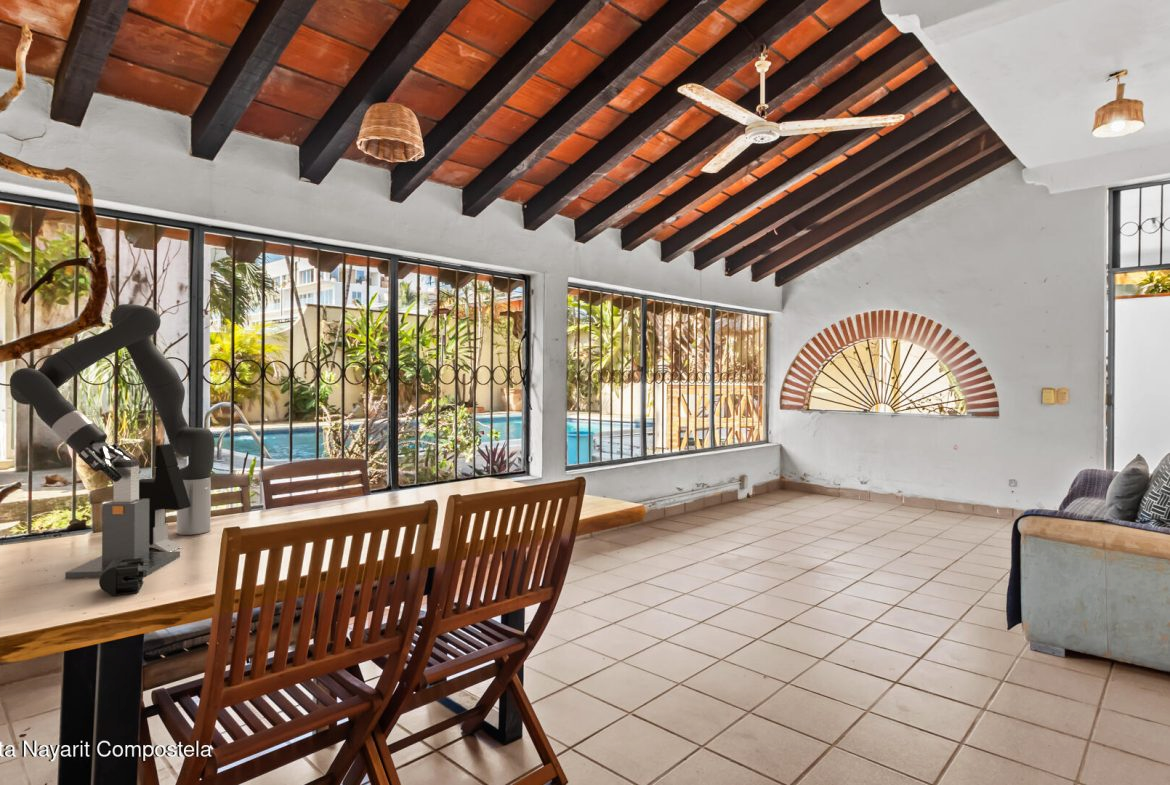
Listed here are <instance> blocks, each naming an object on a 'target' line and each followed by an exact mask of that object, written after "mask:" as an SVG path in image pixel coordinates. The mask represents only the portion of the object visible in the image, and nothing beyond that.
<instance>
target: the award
mask: <svg viewBox="0 0 1170 785" xmlns="http://www.w3.org/2000/svg"><path fill="white" fill-rule="evenodd" d="M154 458H155V460H154V463H155V464H154V467H155V468H154V479H152V478H150V479H149V478H142V479H141V478H140V479H139V499H149V549H150V548H152V549H156V550H159V551H160V552H170V551H172V552H174V551H173V550H175V549H178V548H180V547H182V546H181V545H179V544H177V543H176V542H174V541H172V540H170V538H169V526H168V523H166V522H167V518H166V516H167V513H166V512H167V511H166V510H169V511H170V510H172V511H177V510H181V509H184V508H188V507H190V506H191V504H190V501H189V498H188V495H187V491H186V488H185V485H184V482H183V479H182V475H181V472H180V469H181V468H180V467H179V462H178V460H177V456H176V453H175V452H174V450H173V446H172V445H171V444H170V443H165V444H158V445H155V457H154ZM178 550H179V549H178ZM175 551H176V550H175Z"/></svg>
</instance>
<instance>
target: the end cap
mask: <svg viewBox="0 0 1170 785" xmlns="http://www.w3.org/2000/svg"><path fill="white" fill-rule="evenodd" d="M143 565H144V558H137V559H126V560H124V557H119V558H117V559H115V560H113V561H112V562H111V563H110V564H109V566H108V567H107V568H106V570H105V571H104V572H103V574H102V575H101V577H100V578H99V580H98V582H99V587H100V589H101V590H102V591H103V592H104V593H106V594H108V595H109V596H111V597H121V596H122V597H123V595H124V596H131V595H132V594H133V595H137V593H138V594H139V593H140V591H139V590H141V589H142V587H143V585H144V577H145V576H144V570H143V571H138V568H139V567H140V566H143Z"/></svg>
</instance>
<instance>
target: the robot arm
mask: <svg viewBox="0 0 1170 785" xmlns="http://www.w3.org/2000/svg"><path fill="white" fill-rule="evenodd" d="M110 323H111V325H112V327H110V328H108V329H107V330H105V331H102V332H100V333H97V334H94V335H91V336H89V337H86V338H83V339H81V340H78V341H75V342H74V343H71V344H69V345H67V346H65V347H63V348H61V349H60V350H58V351H56V352H55V353H53V354H51V355H50V356H48V357H47V358H45V360H44V361H43V363H42V365H41V366H40V368H38V369H36V368H31V367H24V368H23V367H22V368H19V369H17V370H15V371H14V372H13V373H12V374H11V375H10V378H9V386H10V387H9V389H10V390H9V391H10V396H11V397H12V399H13V400H14V401H15V402H17V403H18V404H21V405H27V406H28V405H31V406H32V407H33V408H34V410H35V412H36V415H37V416H38V417H39V419H40V420H41V421H42V422H43V423H45V424H46V425H47V426H48V427H49V428H50V429H51V430H52V431H53V433H55V434H56V435H57V437H58V438H60V440H61V441H63V442H64V443H65V444H66V445H67V446H68V447H70V448H71V449H72V450H73V452H75V453H76V454H77V455H78V457H79V458H80V460H82V461H83V462H84V463H85V464H86V465H87V466H88V467H89V468H91V469H92V470H93V471H94V472H96V473H98V472H100V473H104V474H105V475H106V476H107V477H108V478H110V480H112V481H113V483H114V482H118V481H119V480H120V479H121V478H122V477H123V475H122V474H121V473H120V472H119V471H118V470H116V469H115V468H114V467H113V462H114V461H119V460H134V457H133V456H132V455H131V454H130V453H128V452H127V451H126V450H125V449H124V448H123V447H121V446H120V445H119V444H118V443H116V442H114V443H113V444H112V445H110V444H109V443H107V442H106V440H107V438H108V434H107V433H106V432H105V431H103V429H101V428H100V427H99V426H98V425H97V424H96V423H95V422H94V421H93V420H91V419H90V418H89V417H88V416H87V415H86V414H84V413H82V412H81V411H80V410H79V409H78V408H77V407H75V406H74V405H73V404H72V403H71V402H70V401H69V400H67V399H66V398H65V397H64V395H62V393H61V391H60V390H59V388H60V387H61V386H63V385H64V384H65V383H66V382H67V381H68V380H69V379H71V378H73V377H75V376H76V375H78V374H80V373H81V372H83V371H85V370H86V369H87V368H89V367H91V366H93V365H94V364H96V363H97V362H99V361H102V359H104V358H107V357H108V356H109V355H112V354H114V353H116V352H117V351H120V350H121V349H123V348H124V349H126V350H127V353H128V354H129V356H130V357H131V359H132V362H133V364H134V366H135V368H136V370H137V372H138V375H139V376H140V378H141V380H142V382H143V385H144V387H145V390H146V391H147V393H148V395H149V397H150V399H151V401H152V402H153V405H154V408H156V412H157V413H158V416H159V417H160V420H161V422H162V425H163V428H164V430H165V434H166V437H167V440H168V442H169V443H168V444H171V445H172V446H173V450H174V453H175V455H178V456H180V457H181V456H182V457H189V462H188V464H187V465H186V466H184V467H182V468H179V469H180V472H181V475H182V479H183V482H184V485H185V488H186V491H187V495H188V498H189V501H190V504H191V506H190V507H188V508H184V509H181V510H176V534H177V535H181V536H185V535H186V536H189V535H192V536H193V535H198V534H199V535H200V534H205V533H208V532H210V531H211V516H212V515H211V509H212V508H211V503H212V502H211V500H212V499H211V498H212V497H211V496H212V495H211V493H212V492H211V490H212V486H211V483H212V482H211V480H212V478H211V477H212V471H213V468H214V462H215V460H214V458H215V446H216V445H215V436H214V433H213V432H212V430H210V429H209V428H206V427H190V426H189V424H188V423H187V421H186V419H185V416H184V414H183V406H184V401H185V395H186V389H185V386H184V384H183V381H182V379H181V376H180V375H179V372H178V371H177V369H176V367H175V366H174V365H173V364H172V363H171V362H170V361H169V360H168V359H167V357H166V356H165V355H164V354H163V353H162V352H161V351H160V350H159V349H158V348H157V346H156V345H155V343H154V342H153V340H152V338H151V336H153V335H154V334H156V333H157V332H158V330H159V329H160V327H161V316H160V314H159V313H158V312H157V311H156V310H155V309H154V308H152V307H149V306H146V305H140V304H132V303H130V304H129V303H122V304H119V305H117V306H115V307H114V308H113V310H112V311H111V314H110ZM140 474H141V470H140V469H139V475H140Z"/></svg>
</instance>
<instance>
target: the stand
mask: <svg viewBox="0 0 1170 785" xmlns="http://www.w3.org/2000/svg"><path fill="white" fill-rule="evenodd" d="M101 506H102V507H101V510H102V511H101V512H102V513H101V515H102V516H101V524H102V525H101V527H102V528H101V529H102V531H101V533H102V534H101V547H102V548H101V556H98V557H96V558H94V559H91V560H89V561H88V562H86V563H83V564H81V565H78V566H77V567H73V568H72V569H70V570H67V571H66V572H65V573H64V574H65V576H64V577H65V578H69V579H86V578H85V577H101V575H102V574H103V572H104V571H105V570H106V568H107V567H108V566H109V564H110V563H111V562H112V561H113V560H115V559H117V558H119V557H124V560H126V559H137V558H144V565H143V566H140V567H139V568H138V571H143V570H144V577H147V575H148V576H149V575H151V574H153V573H155V572H156V571H158V570H159V568H160V567H161V568H163V567H165V566H166V564H167V565H168V564H170V563H172V562H174V561H175V560H177V559H179V558H181V551H178V550H175V551H172V552H164V551H150V548H149V499H139V501H136V502H133V503H114V500H111V501H109V502H108V501H107V502H105V503H102V505H101ZM178 557H179V558H178ZM176 558H177V559H176ZM173 560H174V561H173ZM171 561H172V562H171ZM164 565H165V566H164ZM162 566H163V567H162ZM161 568H160V569H161ZM157 569H158V570H157ZM155 570H156V571H155ZM154 571H155V572H154ZM152 572H153V573H152Z"/></svg>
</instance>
